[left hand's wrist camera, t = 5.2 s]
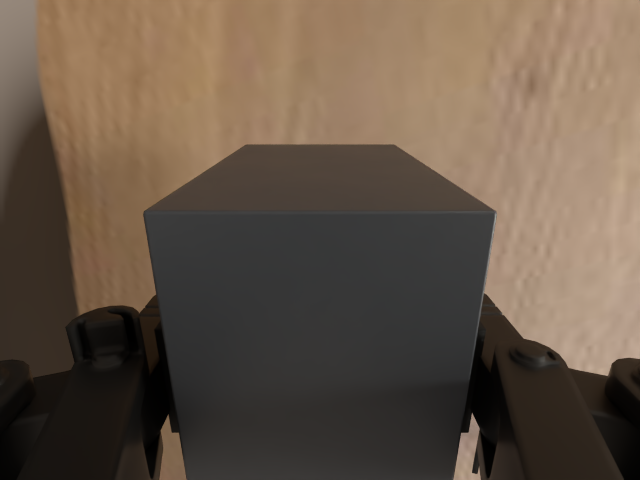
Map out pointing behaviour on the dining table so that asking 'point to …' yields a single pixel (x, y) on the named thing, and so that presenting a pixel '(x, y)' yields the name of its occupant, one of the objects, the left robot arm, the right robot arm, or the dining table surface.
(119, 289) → the dining table surface
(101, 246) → the dining table surface
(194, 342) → the bar
